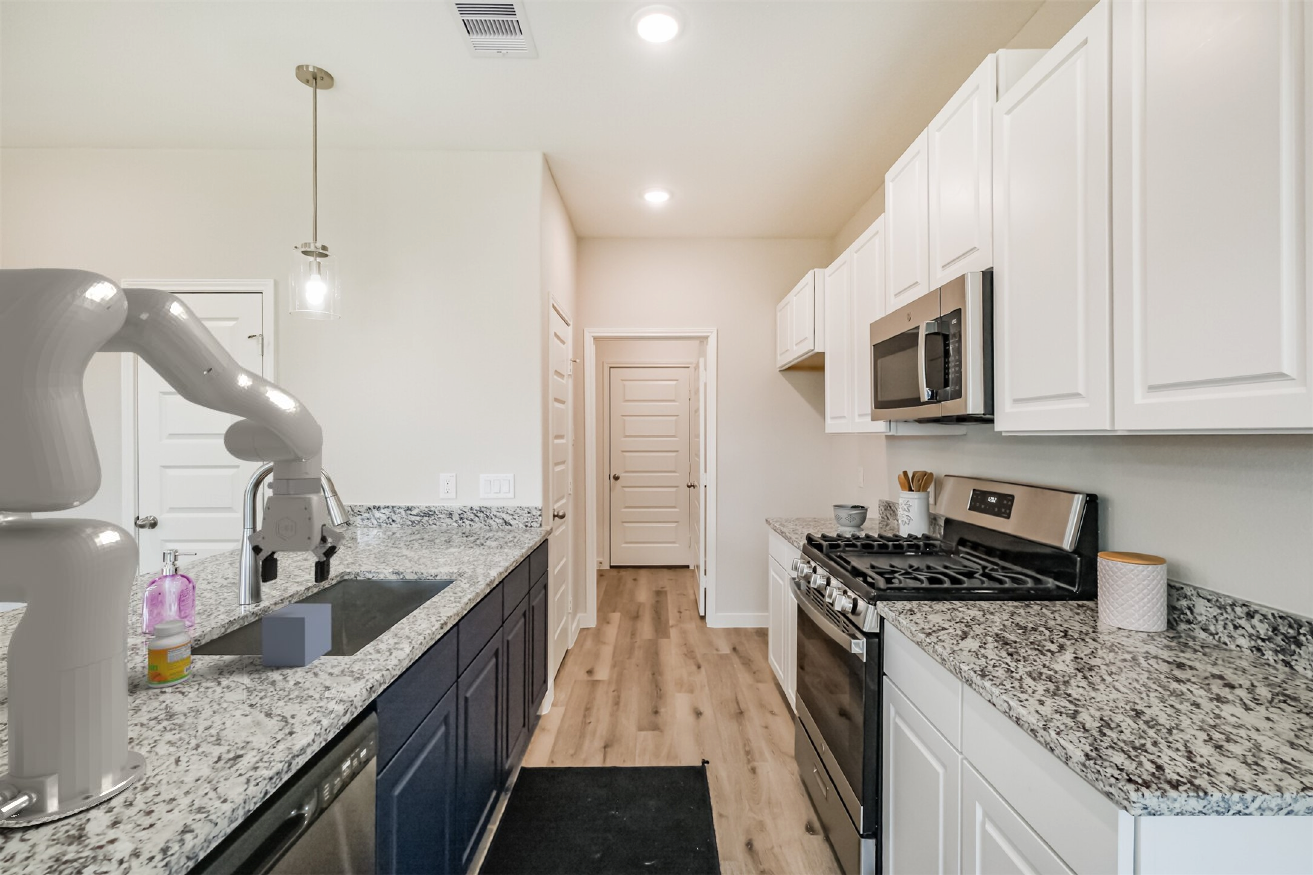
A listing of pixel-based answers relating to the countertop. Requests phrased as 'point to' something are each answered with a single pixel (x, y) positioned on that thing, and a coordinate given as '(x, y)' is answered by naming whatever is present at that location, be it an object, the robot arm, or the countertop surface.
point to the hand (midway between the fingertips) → (295, 581)
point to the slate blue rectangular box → (296, 634)
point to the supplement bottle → (169, 654)
